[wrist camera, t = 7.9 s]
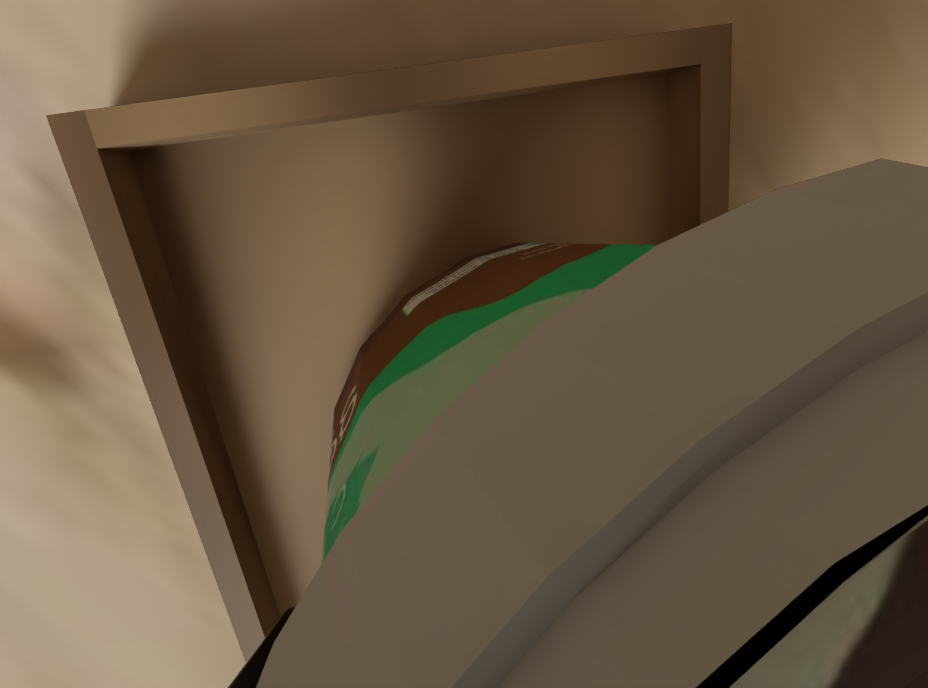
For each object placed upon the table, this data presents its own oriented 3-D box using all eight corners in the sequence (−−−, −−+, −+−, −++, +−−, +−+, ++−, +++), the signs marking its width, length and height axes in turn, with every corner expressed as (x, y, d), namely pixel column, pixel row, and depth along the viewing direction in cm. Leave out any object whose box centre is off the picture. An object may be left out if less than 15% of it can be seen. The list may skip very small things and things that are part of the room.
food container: (199, 219, 10) (-1044, 690, 1) (509, 171, 11) (1392, 140, 2) (340, 697, 14) (400, 1688, 5) (557, 622, 15) (931, 1292, 6)
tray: (676, 46, 12) (732, 23, 10) (682, 618, 17) (718, 675, 15) (106, 124, 11) (45, 114, 9) (299, 705, 16) (288, 777, 14)
